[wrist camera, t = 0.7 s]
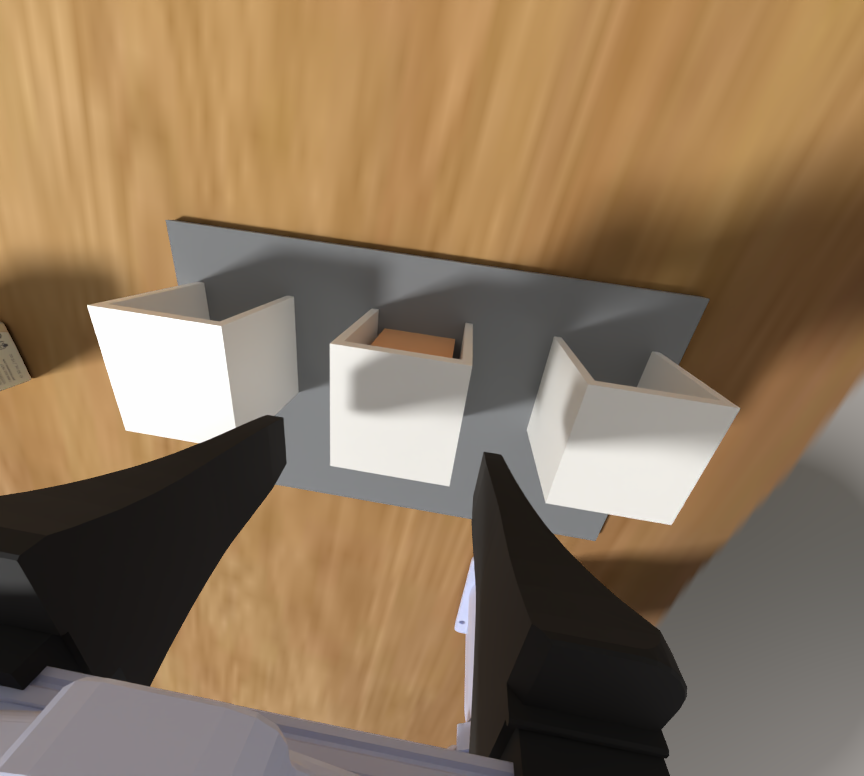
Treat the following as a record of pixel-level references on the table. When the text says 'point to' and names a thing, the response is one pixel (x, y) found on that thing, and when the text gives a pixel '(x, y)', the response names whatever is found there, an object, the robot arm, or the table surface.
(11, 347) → the skincare box
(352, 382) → the white u-channel shell
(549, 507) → the mat
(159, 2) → the table surface
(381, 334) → the cube
